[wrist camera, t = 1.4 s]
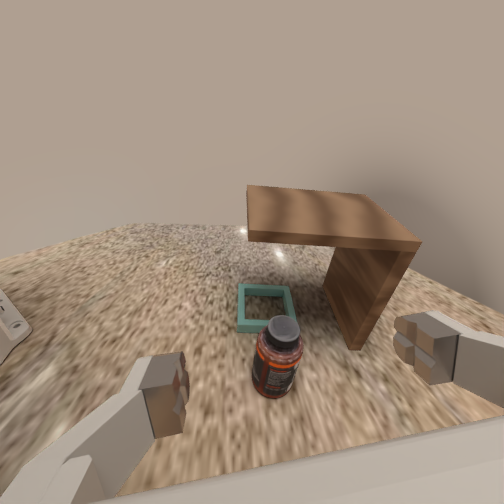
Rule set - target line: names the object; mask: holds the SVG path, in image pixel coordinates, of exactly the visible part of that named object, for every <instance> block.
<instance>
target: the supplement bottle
mask: <svg viewBox="0 0 504 504" xmlns="http://www.w3.org/2000/svg"><path fill="white" fill-rule="evenodd" d="M302 353H303V341H302V338H301V336H300V327H299V325H298V323H297V322H296V321H295V320H294V319H292V318H291V317H288V316H285V315H278V316H275V317H273V318H271V319H270V320H269V322H268V325H267V326H265V327H264V328H263V329H262V330H261V331H260V333H259V335H258V338H257V343H256V350H255V356H254V362H253V368H252V381H253V384H254V386H255V387H256V389H257V390H258V391H259V392H260V393H261V394H263V395H264V396H266V397H269V398H279V397H282V396H284V395H285V394H286V393H287V392H288V391H289V389H290V387H291V385H292V383H293V380H294V377H295V374H296V371H297V368H298V365H299V362H300V359H301V356H302Z"/></svg>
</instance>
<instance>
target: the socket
mask: <svg viewBox="0 0 504 504" xmlns="http://www.w3.org/2000/svg"><path fill="white" fill-rule="evenodd" d="M244 295H255V296H277V297H282V298H283V304H284V309H285V314H286V316H288V317H291V318H292V319H294V320H295V321H296V322H297V319H296V315H295V310H294V306H293V302H292V298H291V294H290V289H289V286H280V285H261V284H241V283H239V284H238V308H237V332H244V333H260V331H261V330H262V329H263V328H264V327H265V326H267V325H268V322H269V320H253V319H245V296H244Z"/></svg>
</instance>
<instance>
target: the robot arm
mask: <svg viewBox="0 0 504 504" xmlns="http://www.w3.org/2000/svg"><path fill="white" fill-rule="evenodd" d="M394 328H395V329H396V331H397V333H396V334H395V336H394V337H393V346H394V349H395V351H396V353H397V355H398V356H399V358H400V359H401V360H402V361H403V362H404V363H407V364H409V365H412V366H413V368H414V372H415V373H416V374H418V375H419V376H420V377H421V378H422V379H423V380H424V381H425V382H426V383H427V384H429V385H435V384H441V383H448V382H453V383H454V384H456V385H458V386H460V387H462V388H464V389H466V390H468V391H470V392H472V393H474V394H476V395H478V396H480V397H482V398H484V399H486V400H488V401H490V402H492V403H494V404H496V405H498V406H500V407H502V408H504V337H502V336H498V335H494V334H490V333H486V332H482V331H479V332H476V331H474V330H472V329H471V328H469V327H467V326H465V325H463V324H461V323H459V322H457V321H455V320H454V319H452V318H450V317H448V316H446V315H444V314H442V313H440V312H439V311H434V310H432V311H426V312H421V313H418V314H412V315H406V316H401V317H396V319H395V321H394ZM31 332H32V327H31V326H30V325H29V323H28V322H27V321H26V320H25V318H24V317H23V316H22V314H21V313H20V312H19V311H18V309H17V308H16V307H15V306H14V304H13V303H12V302H11V300H10V299H9V298H8V297H7V295H6V294H5V293H4V292H3V290H2V289H1V288H0V364H1V363H2V362H3V361H4V359H5V358H6V357H7V355H8V354H9V352H10V351H11V350H12V349H13V348H14V347H15V346H16V345H17V344H18V343H20V342H21V341H22V340H23V339H25V338H26V337H27V336H28V335H29V334H30V333H31ZM185 362H186V361H185V356H184V353H183V352H182V351H181V352H174V353H167V354H160V355H154V356H153V355H152V356H146V357H140V358H138V359H137V360H136V362H135V364H134V366H133V367H132V369H131V371H130V373H129V375H128V377H127V379H126V381H125V382H124V384H123V386H122V388H121V390H120V392H119V394H115V395H113V396H111V397H110V398H109V399H108V400H106V401H105V402H104V403H102V404H101V405H100V406H99V407H97V408H96V409H95V410H94V411H92V412H91V413H90V414H89V415H87V416H86V417H85V418H83V419H82V420H81V421H80V422H78V423H77V424H76V425H75V426H73V427H72V428H71V429H70V430H68V431H67V432H66V433H64V434H63V435H62V436H61V437H59V438H58V439H57V440H56V441H54V442H53V443H52V444H51V445H49V446H48V447H47V448H45V449H44V450H43V451H42V452H40V453H39V454H38V455H37V456H35V457H34V458H33V459H32V460H30V461H29V462H28V463H26V464H25V465H24V466H23V467H22V469H21V470H20V471H19V473H18V474H17V476H16V477H15V478H14V480H13V481H12V482H11V484H10V485H9V486H8V488H7V489H6V490H5V492H4V493H3V494H2V496H1V497H0V504H504V415H502V416H498V417H493V418H488V419H483V420H479V421H474V422H469V423H464V424H460V425H455V426H450V427H445V428H441V429H436V430H431V431H426V432H421V433H417V434H412V435H407V436H403V437H398V438H393V439H388V440H384V441H379V442H374V443H370V444H365V445H360V446H355V447H351V448H346V449H341V450H337V451H332V452H327V453H322V454H318V455H313V456H308V457H304V458H299V459H294V460H289V461H285V462H280V463H275V464H271V465H266V466H261V467H256V468H252V469H247V470H242V471H238V472H233V473H228V474H223V475H219V476H214V477H209V478H205V479H200V480H195V481H190V482H186V483H181V484H176V485H171V486H167V487H162V488H157V489H153V490H148V491H143V492H138V493H134V494H129V495H124V496H120V497H115V498H114V496H115V495H116V494H117V492H118V491H119V490H120V488H121V487H122V485H123V484H124V483H125V481H126V480H127V479H128V477H129V476H130V474H131V473H132V472H133V470H134V469H135V468H136V466H137V465H138V463H139V462H140V461H141V459H142V458H143V456H144V455H145V454H146V452H147V451H148V450H149V448H150V447H151V445H152V444H153V443H154V441H155V439H157V438H162V437H166V436H171V435H175V434H180V433H183V429H184V423H185V418H186V410H185V405H186V404H187V402H188V400H189V387H190V385H189V376H188V372H187V371H186V370H185V369H184V367H185Z"/></svg>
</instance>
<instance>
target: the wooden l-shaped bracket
mask: <svg viewBox="0 0 504 504" xmlns="http://www.w3.org/2000/svg"><path fill="white" fill-rule="evenodd" d="M247 220H248V221H247V222H248V241H251V242H267V243H282V244H298V245H313V246H329V247H336V248H335V251H334V254H333V257H332V260H331V263H330V265H329V268H328V271H327V274H326V277H325V280H324V283H323V289H324V291H325V293H326V296H327V298H328V301H329V303H330V306H331V308H332V310H333V313H334V315H335V318H336V320H337V322H338V325H339V327H340V330H341V332H342V334H343V337H344V339H345V342H346V344H347V347H348V349H349V350H361V348H362V347H363V345H364V343H365V341H366V340H367V338H368V336H369V334H370V333H371V331H372V329H373V327H374V326H375V324H376V322H377V320H378V319H379V317H380V315H381V313H382V312H383V310H384V308H385V306H386V305H387V303H388V301H389V299H390V298H391V296H392V294H393V292H394V291H395V289H396V287H397V285H398V284H399V282H400V280H401V278H402V277H403V275H404V273H405V271H406V270H407V268H408V266H409V264H410V263H411V261H412V259H413V257H414V256H415V254H416V252H417V250H418V249H419V247H420V245H421V243H422V241H421V240H420V239H418V238H417V237H416V236H415V235H414V234H412V233H411V232H410V231H409V230H407V229H406V228H405V227H404V226H403V225H401V224H400V223H399V222H398V221H396V220H395V219H394V218H393V217H391V216H390V215H389V214H388V213H387V212H386V211H384V210H383V209H382V208H381V207H379V206H378V205H377V204H376V203H375V202H373V201H372V200H371V199H370V198H368V197H367V196H366V195H362V194H351V193H338V192H327V191H315V190H303V189H302V190H301V189H291V188H290V189H289V188H279V187H267V186H255V185H247Z"/></svg>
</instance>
